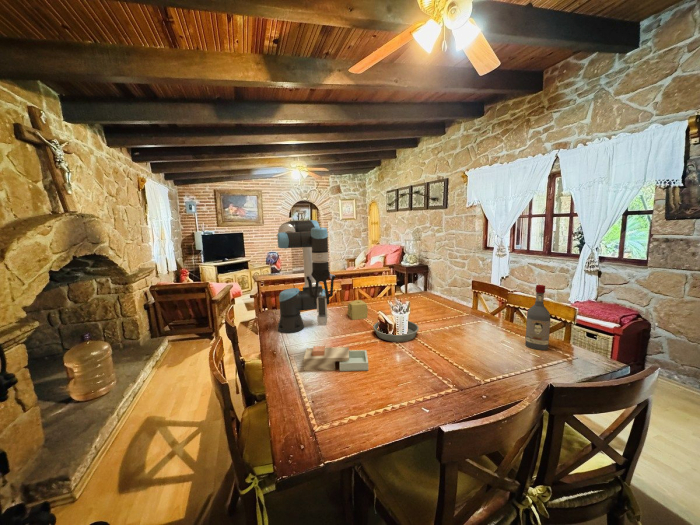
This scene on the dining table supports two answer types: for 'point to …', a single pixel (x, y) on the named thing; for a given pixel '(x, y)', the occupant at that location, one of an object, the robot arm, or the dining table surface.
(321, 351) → the tile
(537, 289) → the liquor
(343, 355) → the ledge
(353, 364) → the box
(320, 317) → the scraper
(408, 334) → the cake pan
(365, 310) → the cheese
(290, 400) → the dining table surface
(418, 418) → the dining table surface
